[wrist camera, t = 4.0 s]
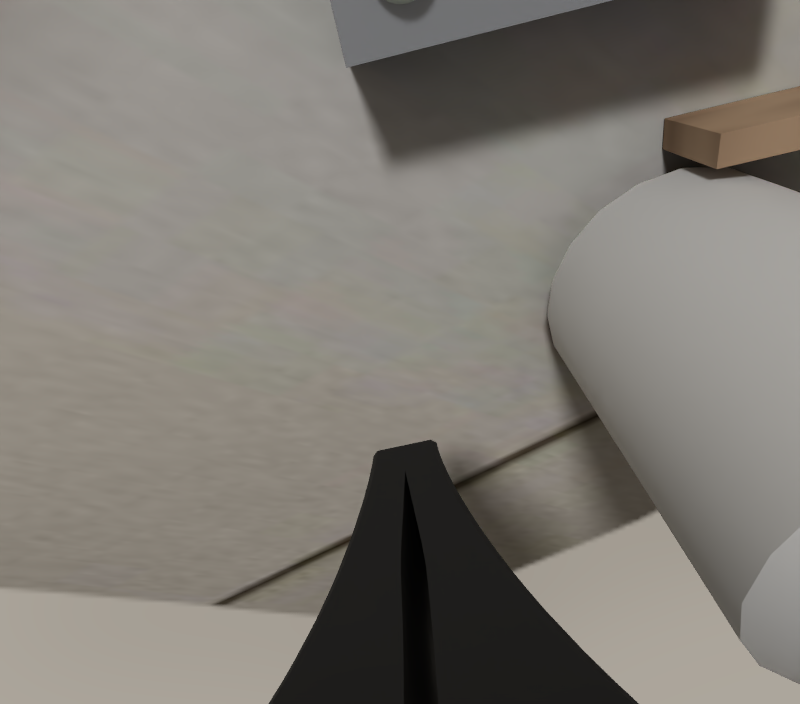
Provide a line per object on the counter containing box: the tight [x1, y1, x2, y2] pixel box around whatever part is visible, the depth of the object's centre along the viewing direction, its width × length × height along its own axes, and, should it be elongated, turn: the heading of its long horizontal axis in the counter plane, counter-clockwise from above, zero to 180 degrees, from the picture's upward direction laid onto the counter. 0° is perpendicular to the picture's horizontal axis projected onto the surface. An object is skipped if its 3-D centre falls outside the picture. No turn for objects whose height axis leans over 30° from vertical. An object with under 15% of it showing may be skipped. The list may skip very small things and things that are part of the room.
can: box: [547, 167, 800, 684], centre depth 11 cm, size 8×8×12 cm
